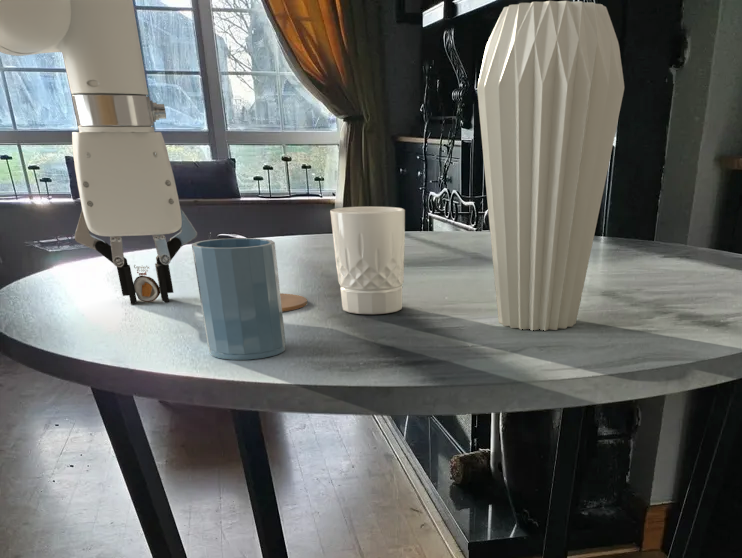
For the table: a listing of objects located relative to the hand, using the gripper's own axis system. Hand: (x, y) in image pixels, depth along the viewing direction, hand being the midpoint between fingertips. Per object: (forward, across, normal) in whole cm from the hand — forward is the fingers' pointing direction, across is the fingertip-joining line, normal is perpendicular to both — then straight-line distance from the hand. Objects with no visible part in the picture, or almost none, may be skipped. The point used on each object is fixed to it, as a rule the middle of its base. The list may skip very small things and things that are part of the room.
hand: (149, 299), depth 91 cm
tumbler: (0, -7, +28) cm, 29 cm away
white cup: (0, -23, +14) cm, 27 cm away
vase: (0, -37, +27) cm, 46 cm away
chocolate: (0, 0, 0) cm, 0 cm away
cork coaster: (0, -12, +7) cm, 14 cm away
